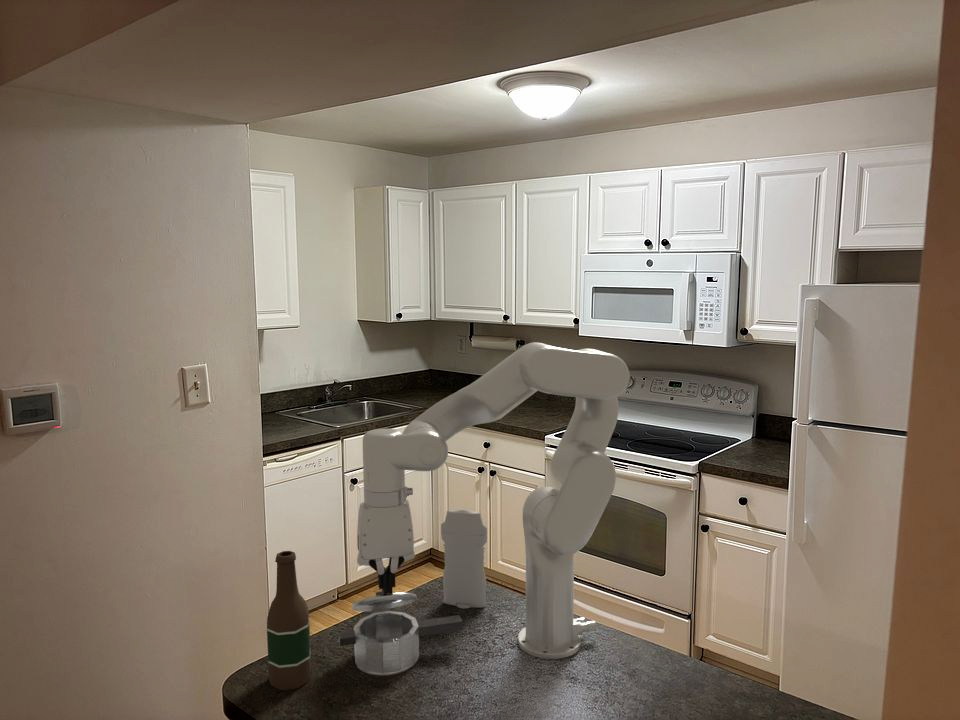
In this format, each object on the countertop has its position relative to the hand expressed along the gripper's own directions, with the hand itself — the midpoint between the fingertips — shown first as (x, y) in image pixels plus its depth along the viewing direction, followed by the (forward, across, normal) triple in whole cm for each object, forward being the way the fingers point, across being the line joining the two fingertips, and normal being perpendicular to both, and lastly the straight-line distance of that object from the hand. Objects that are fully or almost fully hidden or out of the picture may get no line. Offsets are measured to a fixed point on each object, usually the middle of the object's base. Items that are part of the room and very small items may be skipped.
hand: (386, 591), depth 130 cm
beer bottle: (+15, +18, -1) cm, 23 cm away
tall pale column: (+15, -20, -19) cm, 32 cm away
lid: (+4, 0, -4) cm, 6 cm away
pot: (+15, -3, -3) cm, 15 cm away
